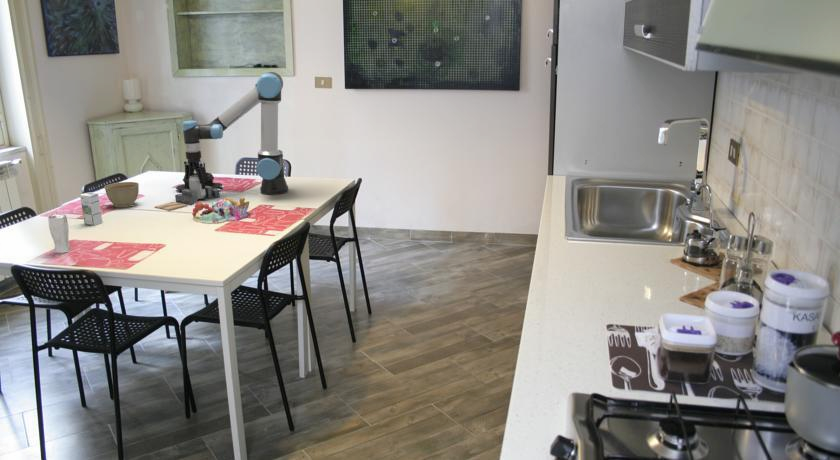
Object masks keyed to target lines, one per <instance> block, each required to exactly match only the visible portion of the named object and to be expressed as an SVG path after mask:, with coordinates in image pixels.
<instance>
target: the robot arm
mask: <svg viewBox="0 0 840 460" xmlns="http://www.w3.org/2000/svg"><path fill="white" fill-rule="evenodd" d="M283 87H284V81H283V78H282V76H281V75H280V74H279V73H277V72H275V71H269V72H266V73H263V74H262V75H261V76H259V77H258V80H257V82H256V83H255V84H254V88H252V89H251V90H250V91H248V92H247V93H246V94H245V95H243V96H242V97H241V98H239V100H237V101H236V102H235V103H234V104H232V105H230V106H229V108H227V109H226V110H225V111H223V112H222V113H221V114H220V115H218V116H216V118H215V119H213V120H211V121H210V122H209V123H208V124H199V123H198V121H197V120H186V121H183V122H182V133H183V139H184V140H183V141H184V149H185V158H186V159H187V160H186V161H183V163H184V176H185V179H186V180H188V181H189V178H190V176H192V175H194V173H197V175H198V177H199V180H200V183H199V185H200V194H201V196H202V195H206V192H205V182H207V181H208V179H207V175H206V173H207V171H206V163H205V162H201V158H202V151H201V150H202V149H201V143H200V141H201V140H217V139H219V140H220V139H223V137H224V131H226V130H227V129H228V128H229V127H231V126H232V125H233V124H235V123H236V122H237V121H238V120H239V119H241V118H242V117H244V115H246V114H247V113H249V112H250V111H251V110H252V109H254V107H256V106H258V105H259V104H260V150H259V151H257V164H256V166H255V167H256V172H257V175H258V176H259V177H260V178H262V179H261V186H260V188H259V189H260V193H261V195H270V196H271V195H281V194H285V193H288V192H289V186H288V184H287V181H286V177H285V168H284V159H283V158H284V154H283V151H282V150H281V149H278V145H279V142H278V141H279V140H278V139H279V136H278V135H279V104H280V102H281V101H282V90H283ZM189 187H190V185H189Z"/></svg>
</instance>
